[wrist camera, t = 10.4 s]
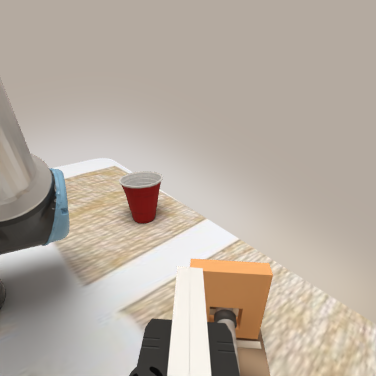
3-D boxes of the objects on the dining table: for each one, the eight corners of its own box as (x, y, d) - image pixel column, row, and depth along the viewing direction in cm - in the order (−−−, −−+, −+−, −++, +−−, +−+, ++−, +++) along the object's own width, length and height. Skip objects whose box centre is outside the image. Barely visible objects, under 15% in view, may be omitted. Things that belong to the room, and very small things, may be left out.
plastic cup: (154, 203, 74) (153, 166, 68) (170, 221, 65) (170, 180, 60) (118, 212, 69) (113, 173, 64) (130, 233, 61) (126, 190, 55)
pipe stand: (313, 606, 19) (344, 590, 16) (160, 588, 20) (156, 568, 16) (251, 300, 44) (258, 266, 41) (185, 295, 45) (185, 262, 41)
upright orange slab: (257, 339, 35) (272, 275, 30) (188, 334, 36) (190, 270, 30) (255, 325, 37) (269, 263, 32) (188, 321, 38) (190, 258, 32)
